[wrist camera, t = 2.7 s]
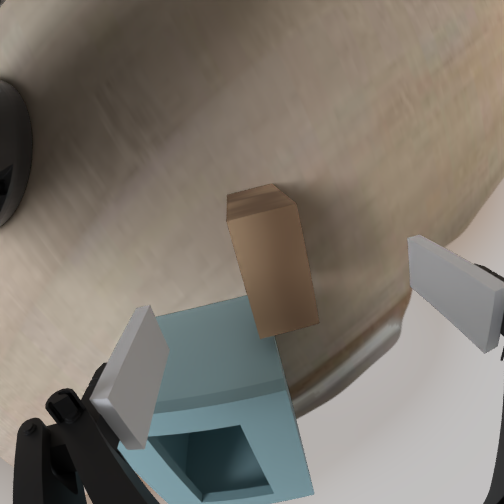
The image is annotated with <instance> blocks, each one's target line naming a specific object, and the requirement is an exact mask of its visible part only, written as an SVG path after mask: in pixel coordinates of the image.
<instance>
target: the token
mask: <svg viewBox="0 0 504 504" xmlns="http://www.w3.org/2000/svg"><path fill="white" fill-rule="evenodd" d="M226 222H227V225H228V229H229V232H230V236H231V240H232V243H233V247H234V250H235V254H236V257H237V261H238V264H239V268H240V271H241V275H242V278H243V282H244V285H245V289H246V292H247V296H248V299H249V303H250V306H251V310H252V313H253V317H254V320H255V324H256V327H257V330H258V334H259V337H260V339H263V338H267V337H271V336H274V335H278V334H282V333H286V332H290V331H293V330H297V329H301V328H304V327H308V326H311V325H315V324H318V323H319V317H318V311H317V306H316V300H315V294H314V289H313V283H312V278H311V273H310V267H309V262H308V257H307V252H306V247H305V242H304V237H303V232H302V227H301V222H300V218H299V213H298V208H297V204H296V203H295V202H294V201H293V200H291V199H290V198H289V197H288V196H287V195H285V194H284V193H283V192H282V191H281V190H279V189H278V188H277V187H276V186H274V185H273V184H268V185H264V186H260V187H256V188H252V189H248V190H244V191H240V192H236V193H233V194H229V195H227V220H226Z"/></svg>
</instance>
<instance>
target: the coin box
mask: <svg viewBox="0 0 504 504" xmlns="http://www.w3.org/2000/svg"><path fill="white" fill-rule="evenodd" d="M155 318H156V320H157V322H158V325H159V327H160V329H161V332H162V334H163V336H164V338H165V341H166V343H167V345H168V347H169V349H170V351H169V355H168V358H167V362H166V366H165V370H164V373H163V377H162V381H161V385H160V389H159V393H158V396H157V400H156V404H155V408H154V413H153V417H152V421H151V425H150V429H149V433H148V438H147V442H146V446H145V449H141V450H127V449H126V448H125V446H124V445H123V444H122V443H121V442H120V441H119V444H118V448H117V449H118V450H119V451H120V452H121V453H122V455H123V456H124V458H125V459H126V460H127V462H128V463H129V465H130V466H131V467H132V469H133V470H134V471H135V472H136V473H137V474H138V475H139V476H140V477H141V478H142V479H143V480H144V481H145V482H146V483H147V484H148V485H149V486H150V487H151V488H152V489H153V490H154V491H155V492H156V493H158V494H159V495H160V496H161V497H162V498H163V499H164V500H165V501H166V502H167V503H168V504H271V503H276V502H282V501H287V500H292V499H296V498H301V497H305V496H309V495H313V494H314V490H313V486H312V482H311V478H310V474H309V470H308V466H307V462H306V458H305V453H304V449H303V445H302V441H301V437H300V433H299V429H298V425H297V421H296V417H295V413H294V409H293V405H292V401H291V397H290V393H289V389H288V385H287V382H286V378H285V374H284V370H283V366H282V363H281V359H280V355H279V351H278V347H277V344H276V340H275V336H271V337H267V338H263V339H260V337H259V334H258V330H257V327H256V324H255V320H254V317H253V313H252V310H251V306H250V303H249V299H248V296H247V295H246V296H242V297H238V298H234V299H230V300H226V301H222V302H218V303H214V304H210V305H206V306H201V307H197V308H193V309H189V310H184V311H180V312H176V313H171V314H167V315H162V316H158V317H155Z"/></svg>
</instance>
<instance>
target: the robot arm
mask: <svg viewBox="0 0 504 504" xmlns="http://www.w3.org/2000/svg"><path fill="white" fill-rule="evenodd" d="M5 1H6V0H0V7H1V5H2V4H3V3H4V2H5ZM31 159H32V131H31V124H30V119H29V115H28V111H27V108H26V105H25V103H24V101H23V99H22V97H21V96H20V94H19V93H18V91H17V90H16V89H15V88H14V87H13V86H12V85H10V84H9V83H7V82H5V81H2V80H0V226H2V225H3V224H4V223H5V222H6V221H7V220H8V219H9V218H10V217H11V216H12V214H13V213H14V212H15V210H16V208H17V207H18V205H19V203H20V201H21V199H22V196H23V194H24V191H25V188H26V185H27V181H28V177H29V173H30V167H31ZM407 239H408V253H409V272H410V287H411V288H413V289H414V290H415V291H416V292H417V293H418V294H420V295H421V296H422V297H423V298H424V299H425V300H426V301H428V302H429V303H430V304H431V305H432V306H433V307H435V308H436V309H437V310H438V311H439V312H440V313H441V314H443V315H444V316H445V317H446V318H447V319H448V320H449V321H450V322H451V323H452V324H454V325H455V326H456V327H457V328H458V329H459V330H460V331H461V332H462V333H463V334H464V335H465V336H466V337H468V338H469V339H470V340H471V341H472V342H473V343H474V344H475V345H476V346H477V347H478V348H479V349H480V350H481V351H482V352H483V353H487V352H489V351H490V350H492V349H494V348H495V347H497V346H498V341H499V337H500V333H501V334H502V335H503V336H504V278H503V277H502V276H500V275H498V274H497V273H495V272H492V271H491V270H490V269H488V268H486V267H485V266H481V265H478V264H472V263H471V262H469V261H467V260H466V259H464V258H462V257H460V256H458V255H457V254H455V253H453V252H451V251H450V250H448V249H446V248H444V247H442V246H440V245H439V244H437V243H435V242H433V241H431V240H429V239H427V238H425V237H423V236H421V235H420V234H419V235H416V236H412V237H409V238H407ZM169 351H170V349H169V347H168V345H167V343H166V341H165V338H164V336H163V334H162V332H161V329H160V327H159V325H158V322H157V320H156V318H155V315H154V313H153V311H152V308H151V306H150V305H147V306H143V307H139V308H136V310H135V312H134V313H133V315H132V317H131V319H130V321H129V323H128V324H127V326H126V328H125V330H124V332H123V334H122V336H121V337H120V339H119V341H118V343H117V345H116V347H115V349H114V351H113V353H112V355H111V357H110V359H109V361H108V362H107V363H103V364H102V365H101V366H100V367H99V368H98V369H97V370H96V372H95V374H94V376H93V377H92V380H91V381H90V383H89V387H87V389H86V391H85V393H84V395H83V397H82V399H81V400H80V399H79V397H78V396H77V394H76V393H75V392H74V391H73V390H72V389H69V388H66V389H61V390H59V391H57V392H55V393H54V394H53V395H51V397H50V398H49V399H48V400H47V402H46V410H47V411H48V412H49V414H50V415H51V416H52V418H53V419H54V420H55V421H56V423H57V424H53V425H50V426H46V425H45V424H44V423H43V422H42V421H41V420H40V419H39V418H32V419H29V420H27V421H25V422H24V423H23V424H22V425H21V427H20V428H19V430H18V434H17V442H16V452H15V463H14V481H13V504H87V502H86V497H85V492H84V487H85V489H86V491H87V493H88V495H89V497H90V499H91V501H92V503H93V504H159V502H158V501H157V500H156V499H155V497H153V495H152V494H151V493H150V491H149V490H148V489H147V488H146V486H145V485H144V484H143V482H142V481H141V480H140V478H139V477H138V476H137V474H136V473H135V472H134V470H133V469H132V467H131V466H130V465H129V463H128V462H127V460H126V459H125V458H124V456H123V455H122V453H121V452H120V451H119V450H118V449H117V448H118V444H119V441H120V442H121V443H122V444H123V445H124V446H125V448H126V449H127V450H141V449H145V446H146V442H147V438H148V433H149V429H150V425H151V421H152V417H153V413H154V408H155V404H156V400H157V396H158V393H159V389H160V385H161V381H162V377H163V373H164V370H165V366H166V362H167V358H168V355H169ZM503 358H504V348H503V352H502V356H501V361H502V360H503ZM83 485H84V486H83ZM483 504H504V396H503V412H502V421H501V430H500V439H499V445H498V452H497V458H496V463H495V468H494V473H493V478H492V483H491V487H490V490H489V493H488V495H487V498H486V500H485V502H484V503H483Z"/></svg>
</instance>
